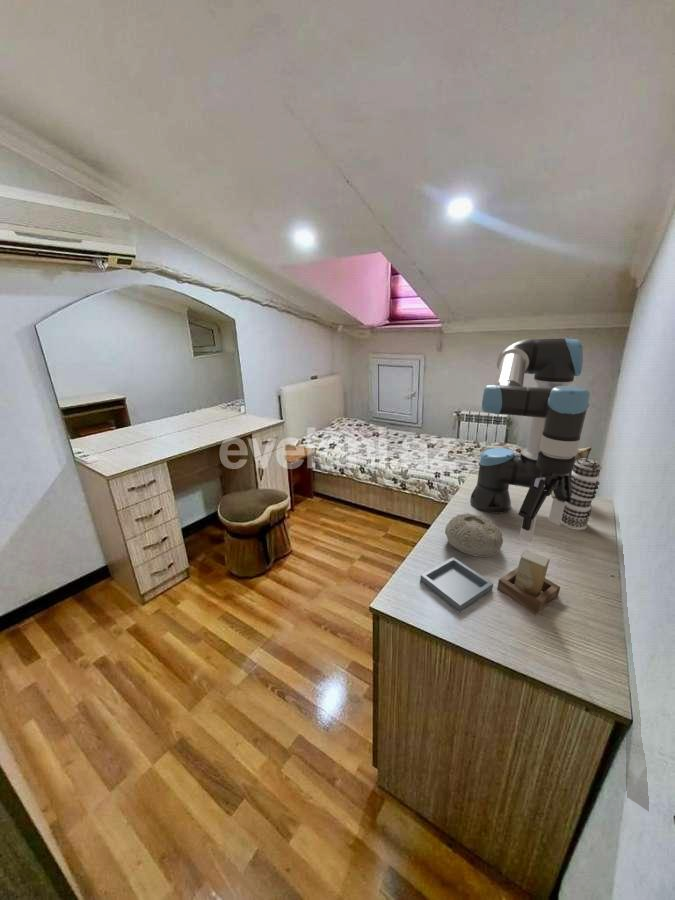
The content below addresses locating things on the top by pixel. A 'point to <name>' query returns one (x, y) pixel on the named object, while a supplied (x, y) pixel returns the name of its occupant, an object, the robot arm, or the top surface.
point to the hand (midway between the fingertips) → (540, 530)
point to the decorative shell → (474, 535)
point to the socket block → (524, 598)
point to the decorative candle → (581, 493)
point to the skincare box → (531, 573)
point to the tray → (456, 584)
